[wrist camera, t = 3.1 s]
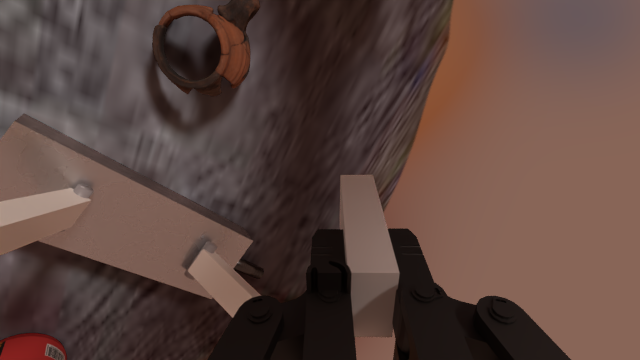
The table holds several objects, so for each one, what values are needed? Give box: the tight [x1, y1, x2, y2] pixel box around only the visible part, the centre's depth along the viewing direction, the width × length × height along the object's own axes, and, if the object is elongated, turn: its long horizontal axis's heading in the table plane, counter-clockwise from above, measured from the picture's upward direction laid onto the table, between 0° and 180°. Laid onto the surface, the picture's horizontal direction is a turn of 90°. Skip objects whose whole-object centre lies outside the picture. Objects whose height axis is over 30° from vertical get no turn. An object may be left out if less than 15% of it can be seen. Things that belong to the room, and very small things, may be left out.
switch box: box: [0, 114, 264, 299], centre depth 39 cm, size 10×32×4 cm, turn 47°
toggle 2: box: [184, 241, 261, 318], centre depth 37 cm, size 4×4×15 cm
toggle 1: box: [0, 183, 94, 255], centre depth 25 cm, size 4×4×15 cm
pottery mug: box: [152, 0, 260, 96], centre depth 35 cm, size 12×9×8 cm
